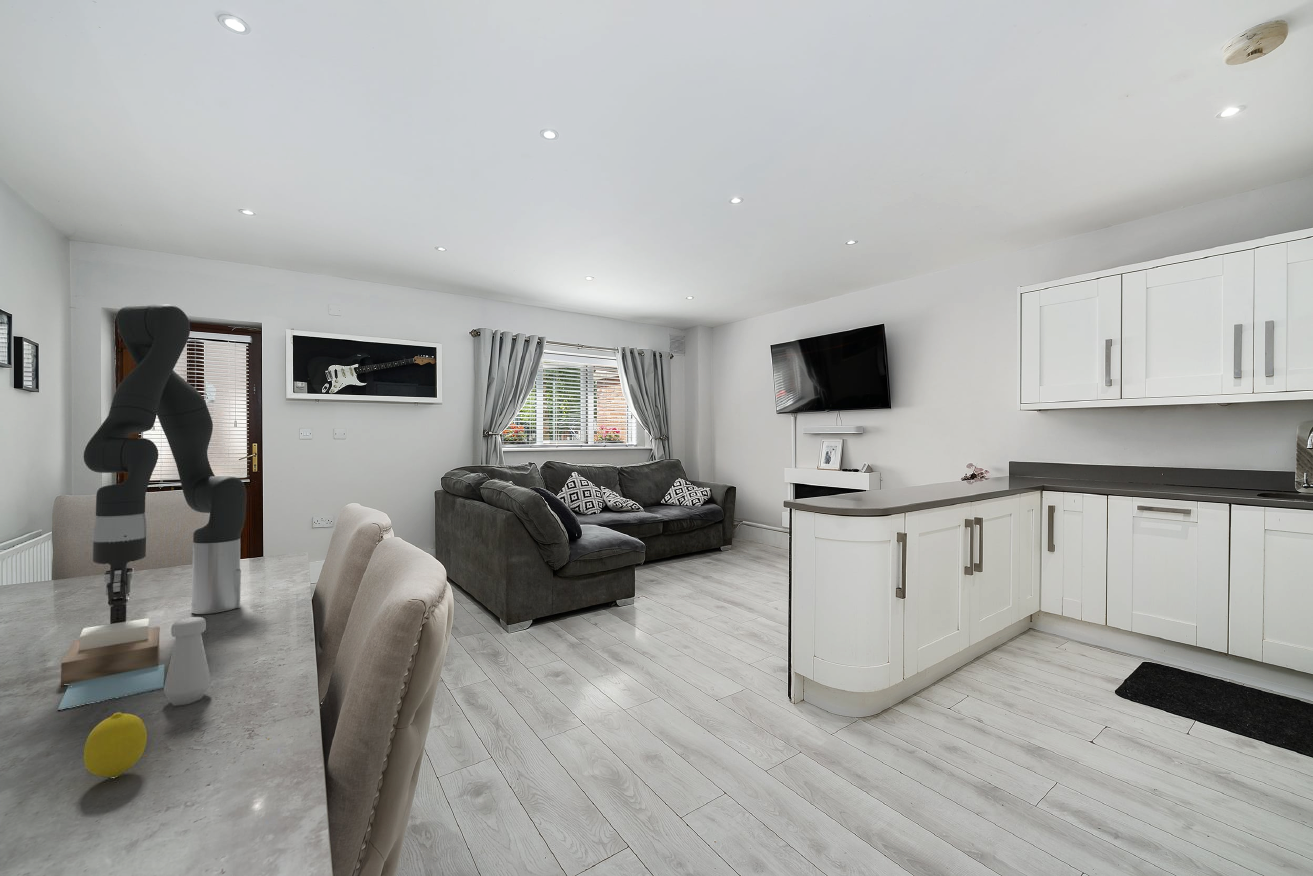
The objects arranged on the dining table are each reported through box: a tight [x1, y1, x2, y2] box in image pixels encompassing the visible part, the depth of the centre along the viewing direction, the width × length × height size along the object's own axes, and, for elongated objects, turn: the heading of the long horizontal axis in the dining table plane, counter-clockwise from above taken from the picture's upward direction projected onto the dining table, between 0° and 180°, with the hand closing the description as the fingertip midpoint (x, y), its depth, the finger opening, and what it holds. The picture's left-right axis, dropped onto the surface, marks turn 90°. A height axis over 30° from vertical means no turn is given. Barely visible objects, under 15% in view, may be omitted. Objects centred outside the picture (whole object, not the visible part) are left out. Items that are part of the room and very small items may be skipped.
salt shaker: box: [163, 616, 212, 707], centre depth 87 cm, size 6×6×13 cm
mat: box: [57, 664, 166, 711], centre depth 91 cm, size 12×12×1 cm
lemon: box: [83, 711, 148, 778], centre depth 66 cm, size 6×6×8 cm
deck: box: [60, 626, 161, 686], centre depth 100 cm, size 12×14×4 cm
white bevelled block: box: [78, 617, 150, 651], centre depth 102 cm, size 9×6×2 cm, turn 132°
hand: (118, 623), depth 107 cm, fingers closed
